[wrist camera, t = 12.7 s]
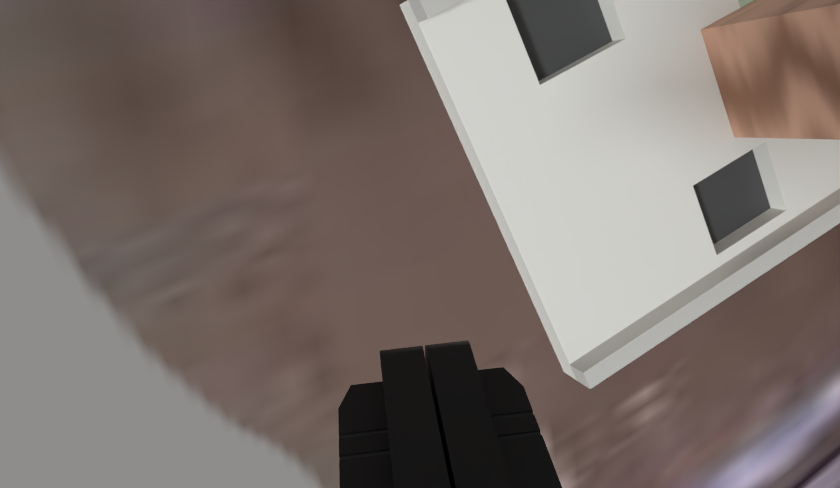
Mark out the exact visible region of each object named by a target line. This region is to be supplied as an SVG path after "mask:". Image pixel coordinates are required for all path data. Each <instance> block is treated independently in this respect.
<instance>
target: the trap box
mask: <svg viewBox="0 0 840 488" xmlns="http://www.w3.org/2000/svg"><path fill="white" fill-rule="evenodd" d="M752 1H754V0H407V1H406V2H404V3H402V4H400V7H401V10H402V12H403V14H404V16H405V19H406V21H407V23H408V25H409V28H410V30H411V32H412V34H413V36H414V39H415V41H416V43H417V45H418V48H419V50H420V52H421V54H422V57H423V59H424V61H425V63H426V65H427V68H428V70H429V72H430V74H431V77H432V79H433V81H434V83H435V86H436V88H437V90H438V92H439V94H440V97H441V99H442V101H443V103H444V106H445V108H446V110H447V112H448V114H449V117H450V119H451V121H452V123H453V126H454V128H455V130H456V132H457V135H458V137H459V139H460V141H461V143H462V146H463V148H464V150H465V152H466V155H467V157H468V159H469V161H470V164H471V166H472V168H473V170H474V172H475V175H476V177H477V179H478V181H479V184H480V186H481V188H482V190H483V193H484V195H485V197H486V199H487V201H488V204H489V206H490V208H491V210H492V213H493V215H494V217H495V219H496V222H497V224H498V226H499V228H500V230H501V233H502V235H503V237H504V239H505V242H506V244H507V246H508V248H509V250H510V253H511V255H512V257H513V259H514V262H515V264H516V266H517V268H518V271H519V273H520V275H521V277H522V279H523V282H524V284H525V286H526V288H527V291H528V293H529V295H530V297H531V300H532V302H533V304H534V306H535V308H536V311H537V313H538V315H539V317H540V320H541V322H542V324H543V326H544V329H545V331H546V333H547V335H548V337H549V340H550V342H551V344H552V346H553V349H554V351H555V353H556V355H557V358H558V360H559V362H560V364H561V366H562V369H563V371H564V372H565V373H566V374H568V375H569V376H571V377H573V378H574V379H576V380H577V381H579V382H580V383H582V384H583V385H585V386H586V387H588V388H589V389H591V388H593V387H594V386H596V385H597V384H599V383H600V382H602V381H603V380H605V379H606V378H608V377H609V376H611V375H612V374H614V373H615V372H617V371H618V370H620V369H621V368H623V367H624V366H626V365H627V364H629V363H630V362H632V361H633V360H635V359H636V358H638V357H639V356H641V355H642V354H644V353H645V352H647V351H648V350H650V349H651V348H653V347H654V346H656V345H657V344H659V343H660V342H662V341H663V340H665V339H666V338H668V337H669V336H671V335H672V334H674V333H675V332H677V331H678V330H680V329H681V328H683V327H684V326H686V325H687V324H689V323H690V322H692V321H693V320H695V319H696V318H698V317H699V316H701V315H702V314H704V313H705V312H707V311H708V310H710V309H711V308H713V307H714V306H716V305H717V304H719V303H720V302H722V301H723V300H725V299H726V298H728V297H729V296H731V295H732V294H734V293H735V292H737V291H738V290H740V289H741V288H743V287H744V286H746V285H747V284H749V283H750V282H752V281H753V280H755V279H756V278H758V277H759V276H761V275H762V274H764V273H765V272H767V271H768V270H770V269H771V268H773V267H774V266H776V265H777V264H779V263H780V262H782V261H783V260H785V259H786V258H788V257H789V256H791V255H792V254H794V253H795V252H797V251H798V250H800V249H801V248H803V247H804V246H806V245H807V244H809V243H810V242H812V241H813V240H815V239H816V238H818V237H819V236H821V235H822V234H824V233H825V232H827V231H828V230H830V229H831V228H833V227H834V226H836V225H837V224H839V223H840V140H832V139H787V138H742V137H734V135H733V132H732V129H731V126H730V123H729V119H728V116H727V113H726V110H725V107H724V103H723V100H722V97H721V94H720V91H719V87H718V84H717V81H716V78H715V75H714V71H713V68H712V65H711V62H710V59H709V56H708V52H707V49H706V46H705V43H704V40H703V36H702V33H701V29H703V28H705V27H707V26H708V25H710V24H712V23H714V22H716V21H717V20H719V19H721V18H723V17H725V16H727V15H728V14H730V13H732V12H734V11H736V10H738V9H739V8H741V7H743V6H745V5H747V4H748V3H750V2H752Z"/></svg>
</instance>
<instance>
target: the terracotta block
mask: <svg viewBox="0 0 840 488" xmlns="http://www.w3.org/2000/svg"><path fill="white" fill-rule="evenodd" d="M701 33H702V36H703V40H704V43H705V46H706V49H707V52H708V56H709V59H710V62H711V65H712V68H713V71H714V75H715V78H716V81H717V84H718V87H719V91H720V94H721V97H722V100H723V103H724V107H725V110H726V113H727V116H728V119H729V123H730V126H731V129H732V132H733V135H734V137H742V138H787V139H832V140H840V0H754V1H752V2H750V3H748V4H747V5H745V6H743V7H741V8H739V9H738V10H736V11H734V12H732V13H730V14H728V15H727V16H725V17H723V18H721V19H719V20H717V21H716V22H714V23H712V24H710V25H708V26H707V27H705V28H703V29H701Z"/></svg>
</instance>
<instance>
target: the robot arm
mask: <svg viewBox="0 0 840 488" xmlns="http://www.w3.org/2000/svg"><path fill="white" fill-rule="evenodd" d="M380 360H381V370H382V380H383V382H375V383H366V384H358V385H351V386H350V388H349V390H348V392H347V394H346V395H345V397H344V399H343V401H342V403H341V405H340V407H339V457H340V461H339V467H340V488H562V486H561V484H560V481H559V478H558V476H557V473H556V471H555V468H554V465H553V463H552V460H551V458H550V455H549V452H548V450H547V447H546V444H545V442H544V439H543V437H542V435H541V434H540V429H539V426H538V423H537V421H536V418H535V416H534V415H533V410H532V408H531V405H530V402H529V400H528V397H527V395H526V392H525V389H524V387H523V386H522V385H521V384H520V383H519V382H518V381H517V380H516V379H515V378H514V377H513V376H512V375H511V374H510V373H509V372H508V371H507V370H506V369H504V368H503V367H502V368H493V369H485V370H478V369H477V366H476V363H475V359H474V356H473V353H472V349H471V346H470V343H469V341H460V342H451V343H442V344H433V345H426V346H425V356H424V351H423V347H422V346H417V347H408V348H399V349H391V350H382V351H380ZM425 360H426V361H425Z"/></svg>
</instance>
